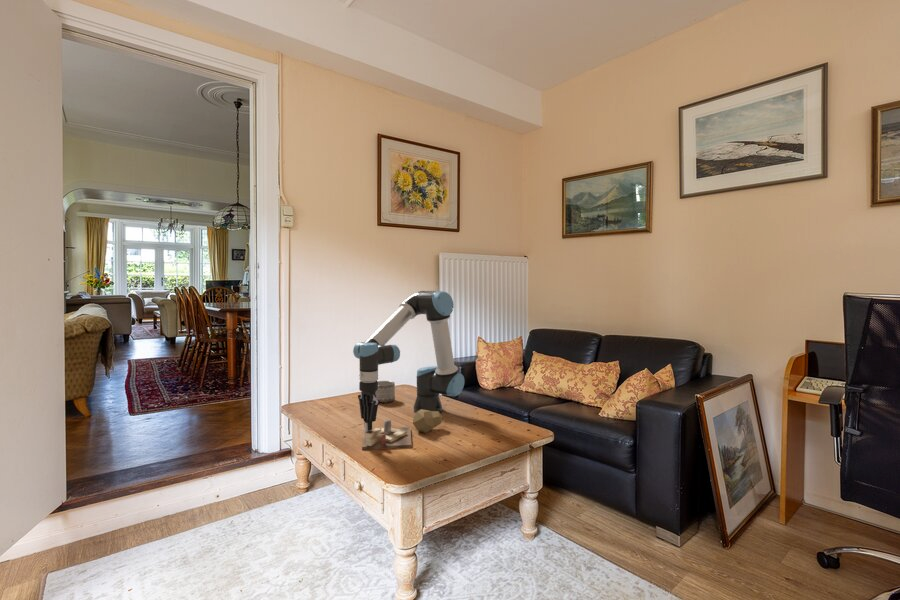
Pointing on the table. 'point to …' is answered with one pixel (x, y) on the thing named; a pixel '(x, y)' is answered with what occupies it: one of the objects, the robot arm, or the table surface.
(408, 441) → the post board
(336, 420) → the table surface
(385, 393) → the planter
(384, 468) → the table surface
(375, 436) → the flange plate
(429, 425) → the low-poly potato
